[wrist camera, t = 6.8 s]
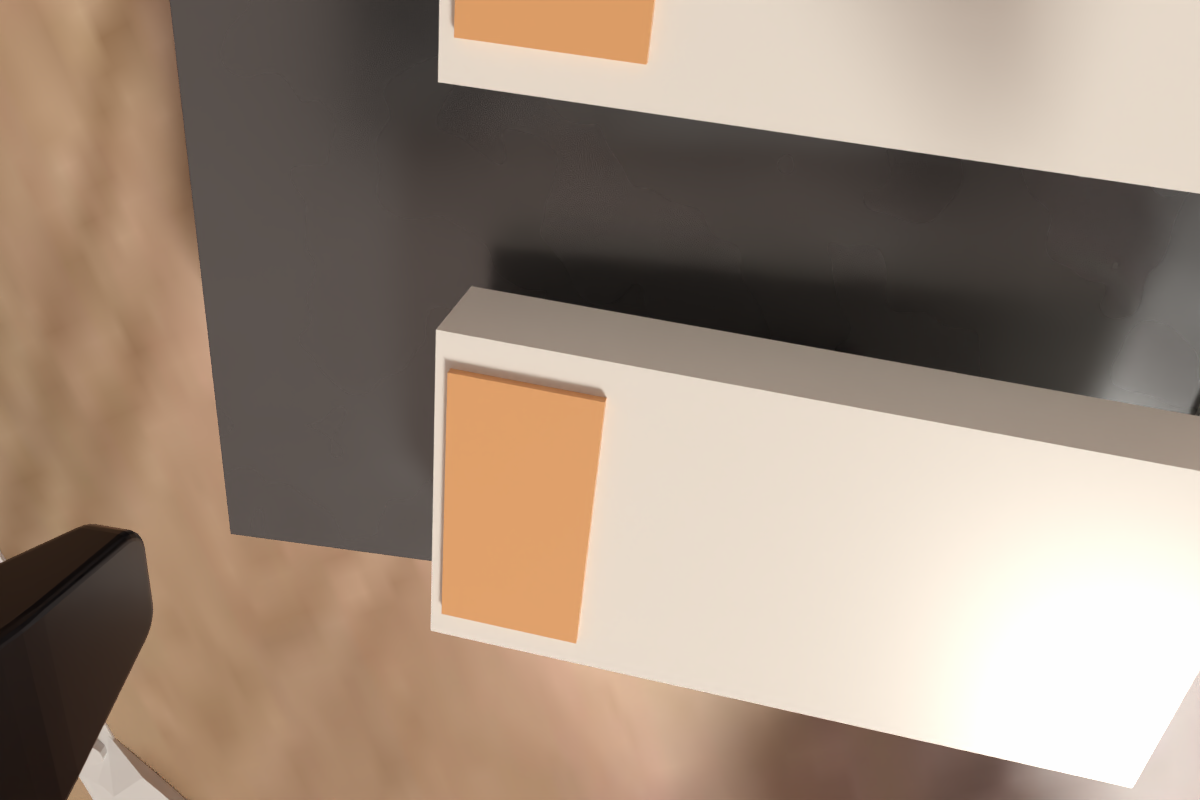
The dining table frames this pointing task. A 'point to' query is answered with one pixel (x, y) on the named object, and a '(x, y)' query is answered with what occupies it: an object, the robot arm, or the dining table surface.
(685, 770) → the dining table surface
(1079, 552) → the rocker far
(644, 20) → the rocker near
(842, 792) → the dining table surface
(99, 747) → the scissors
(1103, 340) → the breaker box
